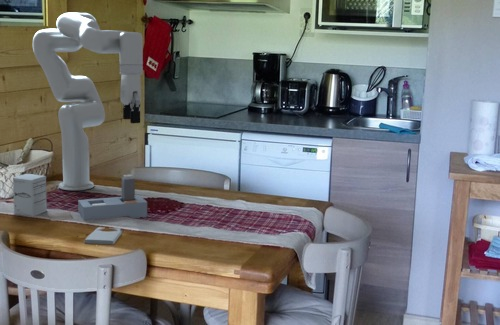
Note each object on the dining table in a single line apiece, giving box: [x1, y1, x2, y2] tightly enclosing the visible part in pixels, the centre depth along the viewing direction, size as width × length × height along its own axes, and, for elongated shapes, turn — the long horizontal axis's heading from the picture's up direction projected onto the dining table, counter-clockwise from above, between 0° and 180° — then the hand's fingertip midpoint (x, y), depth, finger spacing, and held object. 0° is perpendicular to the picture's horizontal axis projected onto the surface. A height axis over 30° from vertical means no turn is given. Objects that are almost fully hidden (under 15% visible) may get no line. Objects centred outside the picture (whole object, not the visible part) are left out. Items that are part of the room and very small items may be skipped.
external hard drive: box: [83, 226, 124, 245], centre depth 192 cm, size 2×8×12 cm
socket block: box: [77, 194, 148, 221], centre depth 212 cm, size 9×20×5 cm, turn 114°
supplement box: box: [12, 173, 48, 217], centre depth 210 cm, size 7×7×13 cm
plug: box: [121, 173, 136, 202], centre depth 213 cm, size 3×3×11 cm
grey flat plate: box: [46, 211, 75, 222], centre depth 207 cm, size 8×7×1 cm
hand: (131, 121), depth 224 cm, fingers open, 9 cm apart
